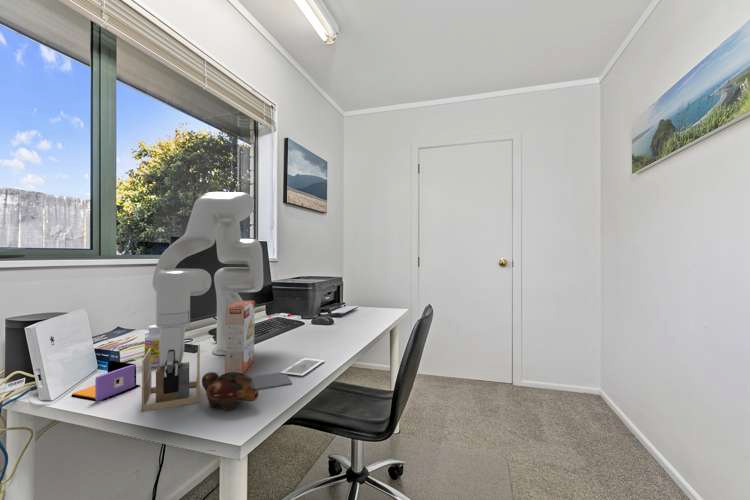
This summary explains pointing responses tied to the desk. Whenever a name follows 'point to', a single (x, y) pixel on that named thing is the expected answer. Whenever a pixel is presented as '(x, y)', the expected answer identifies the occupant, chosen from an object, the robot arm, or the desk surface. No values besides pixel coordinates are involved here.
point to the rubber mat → (270, 380)
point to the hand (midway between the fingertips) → (173, 385)
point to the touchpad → (302, 366)
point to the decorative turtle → (228, 389)
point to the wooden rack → (148, 389)
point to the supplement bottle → (153, 344)
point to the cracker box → (239, 336)
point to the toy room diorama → (111, 382)
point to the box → (183, 384)
